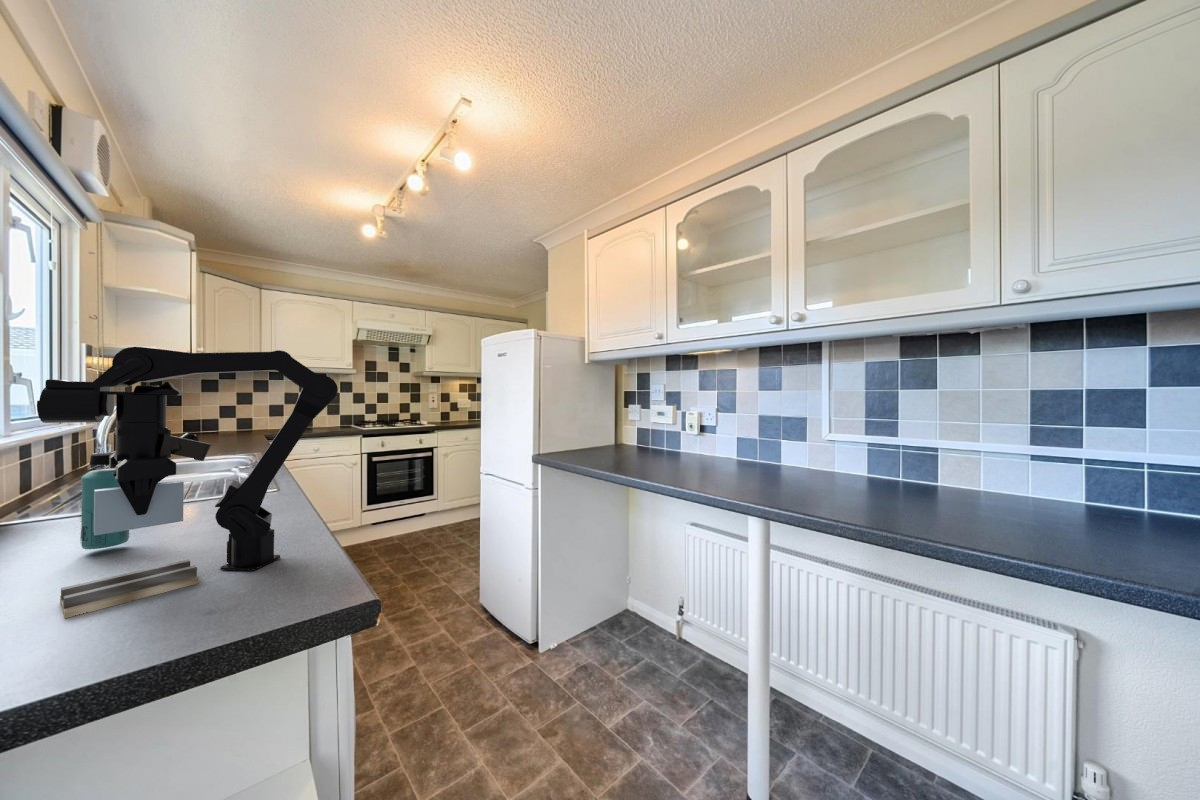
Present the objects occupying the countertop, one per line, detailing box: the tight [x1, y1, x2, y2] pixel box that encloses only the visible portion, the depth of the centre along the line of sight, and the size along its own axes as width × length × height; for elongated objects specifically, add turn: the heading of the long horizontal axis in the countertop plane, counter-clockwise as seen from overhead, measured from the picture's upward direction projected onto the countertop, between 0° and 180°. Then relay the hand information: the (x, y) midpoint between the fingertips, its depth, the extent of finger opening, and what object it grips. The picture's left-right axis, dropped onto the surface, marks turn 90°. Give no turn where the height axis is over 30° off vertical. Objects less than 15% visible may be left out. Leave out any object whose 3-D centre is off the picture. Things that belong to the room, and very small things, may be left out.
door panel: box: [94, 480, 185, 536], centre depth 70 cm, size 10×2×7 cm, turn 143°
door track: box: [59, 558, 200, 619], centre depth 67 cm, size 14×8×2 cm, turn 146°
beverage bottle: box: [79, 452, 131, 550], centre depth 83 cm, size 6×7×20 cm
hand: (140, 513), depth 70 cm, fingers closed on door panel, 2 cm apart
